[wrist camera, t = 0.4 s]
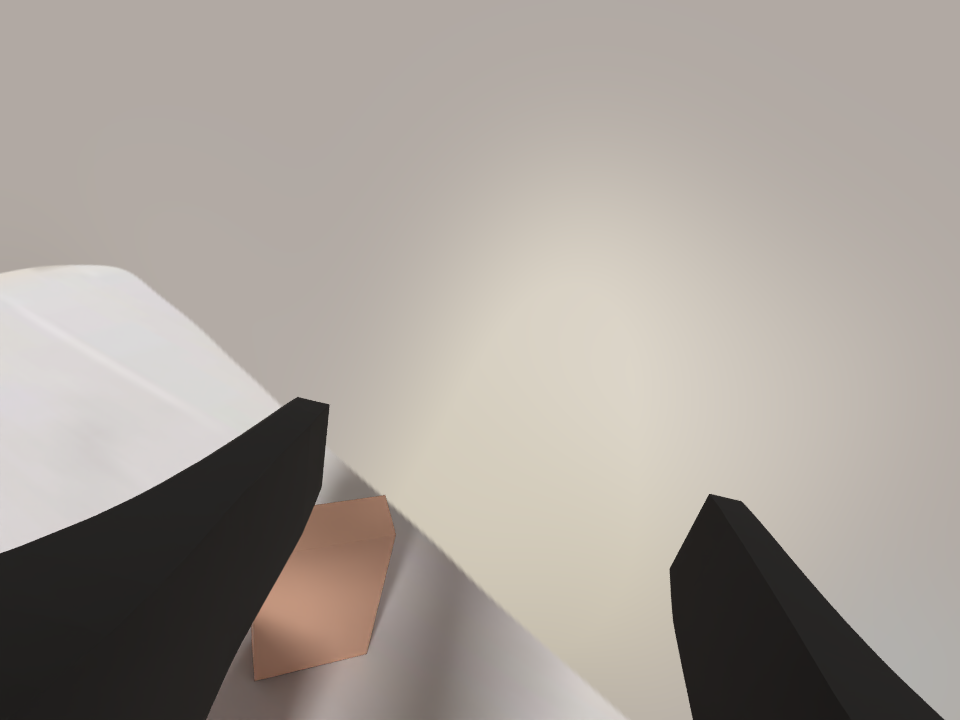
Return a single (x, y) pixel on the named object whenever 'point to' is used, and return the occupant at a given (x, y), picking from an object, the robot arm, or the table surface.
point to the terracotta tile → (326, 589)
